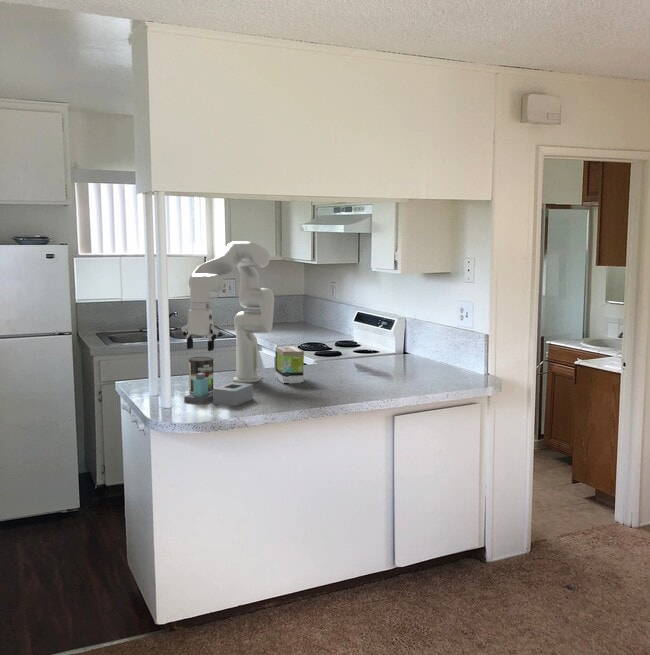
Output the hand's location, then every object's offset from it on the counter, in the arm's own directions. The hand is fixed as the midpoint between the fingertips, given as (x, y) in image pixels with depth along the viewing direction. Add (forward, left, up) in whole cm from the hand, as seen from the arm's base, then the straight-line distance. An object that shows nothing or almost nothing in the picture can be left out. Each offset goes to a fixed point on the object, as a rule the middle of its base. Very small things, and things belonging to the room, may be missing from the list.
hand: (200, 349), depth 282 cm
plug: (0, 0, -21) cm, 21 cm away
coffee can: (-14, -9, -21) cm, 27 cm away
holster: (0, 0, -21) cm, 21 cm away
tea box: (-51, +14, -21) cm, 57 cm away
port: (-5, +12, -21) cm, 24 cm away
